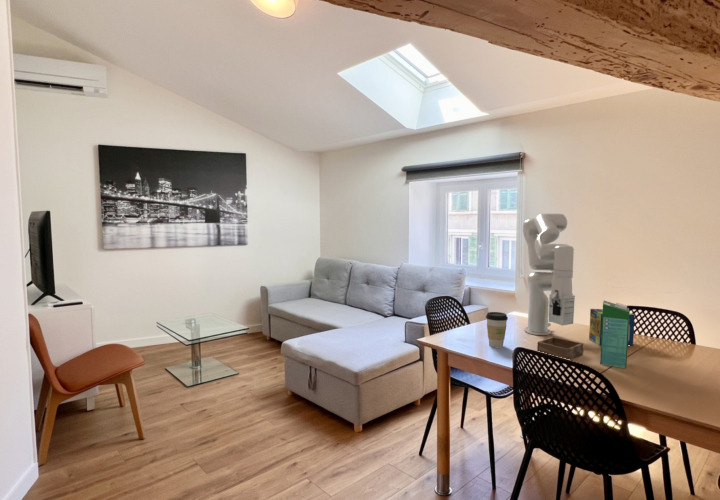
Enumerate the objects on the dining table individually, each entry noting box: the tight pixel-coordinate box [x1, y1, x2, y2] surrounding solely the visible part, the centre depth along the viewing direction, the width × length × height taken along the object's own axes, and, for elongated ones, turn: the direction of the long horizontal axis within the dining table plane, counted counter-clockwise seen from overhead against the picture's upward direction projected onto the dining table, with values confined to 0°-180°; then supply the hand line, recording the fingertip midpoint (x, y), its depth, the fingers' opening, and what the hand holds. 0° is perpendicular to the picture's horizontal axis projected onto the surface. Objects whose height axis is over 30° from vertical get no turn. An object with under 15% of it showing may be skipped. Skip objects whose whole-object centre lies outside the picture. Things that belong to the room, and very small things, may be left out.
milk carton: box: [599, 300, 630, 369], centre depth 166 cm, size 9×9×25 cm
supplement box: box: [548, 293, 576, 326], centre depth 177 cm, size 7×7×13 cm
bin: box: [536, 336, 584, 361], centre depth 178 cm, size 13×13×5 cm
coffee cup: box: [485, 311, 509, 349], centre depth 190 cm, size 10×10×15 cm
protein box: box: [588, 308, 636, 347], centre depth 194 cm, size 10×15×16 cm
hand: (561, 313), depth 177 cm, fingers closed on supplement box, 8 cm apart
